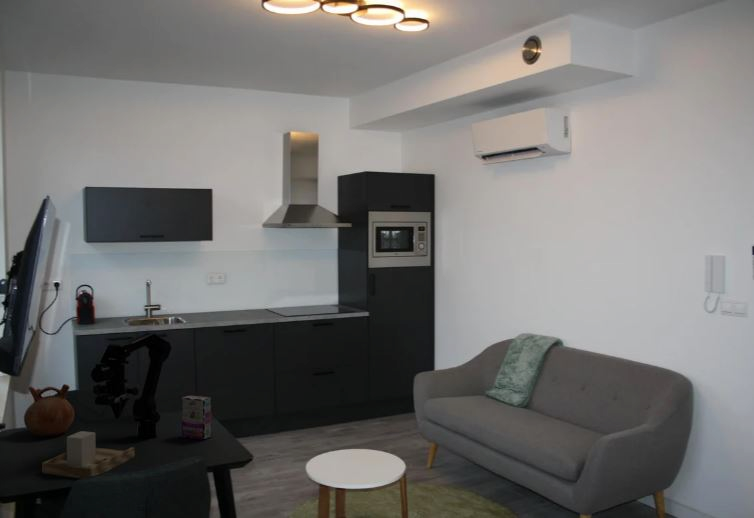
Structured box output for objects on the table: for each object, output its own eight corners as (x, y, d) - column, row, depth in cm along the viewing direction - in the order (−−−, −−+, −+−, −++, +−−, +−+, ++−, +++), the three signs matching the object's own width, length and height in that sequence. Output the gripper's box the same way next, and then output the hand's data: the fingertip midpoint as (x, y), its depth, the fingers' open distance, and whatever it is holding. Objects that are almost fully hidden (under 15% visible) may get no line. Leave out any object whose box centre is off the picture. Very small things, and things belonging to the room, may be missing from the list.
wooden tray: (88, 451, 247) (88, 442, 247) (134, 456, 242) (134, 447, 242) (41, 473, 224) (41, 463, 224) (91, 479, 219) (91, 469, 219)
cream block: (81, 459, 233) (80, 431, 233) (95, 460, 232) (95, 432, 231) (67, 465, 226) (66, 437, 226) (81, 467, 225) (81, 438, 225)
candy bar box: (211, 437, 266) (211, 397, 265) (204, 440, 261) (204, 400, 261) (189, 434, 270) (189, 394, 270) (181, 437, 266) (181, 397, 265)
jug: (22, 442, 257) (21, 392, 257) (26, 430, 274) (25, 382, 273) (73, 437, 265) (73, 388, 264) (74, 425, 281) (74, 378, 280)
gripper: (114, 371, 260) (114, 410, 261) (82, 381, 242) (82, 423, 243) (139, 372, 258) (139, 412, 258) (107, 383, 240) (108, 425, 240)
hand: (117, 418), depth 250 cm, fingers closed
